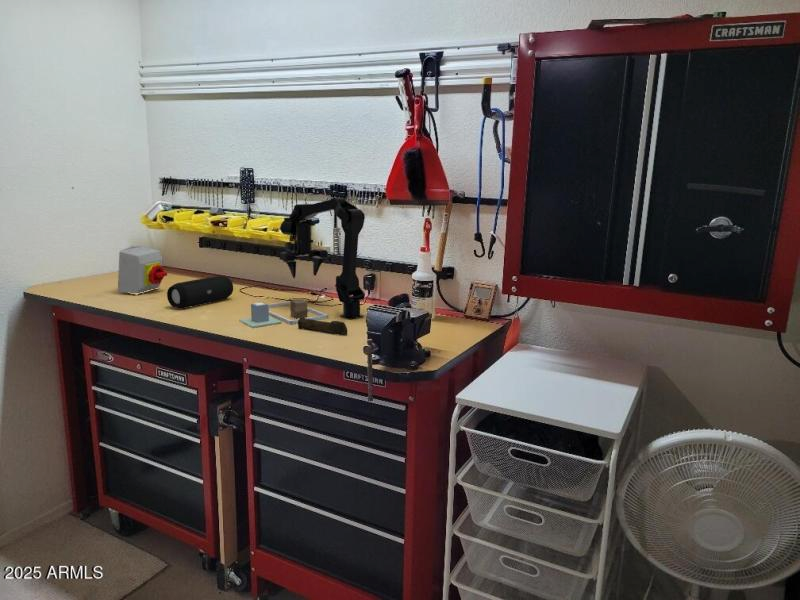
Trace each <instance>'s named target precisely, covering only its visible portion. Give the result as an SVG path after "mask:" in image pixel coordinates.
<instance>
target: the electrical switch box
mask: <svg viewBox="0 0 800 600" xmlns="http://www.w3.org/2000/svg"><path fill="white" fill-rule="evenodd" d="M118 254H119V255H118V276H117V277H118V278H117V291H118V292H120V293H124V292H130V293H140V292H144V291H147V290H151V289H155V288H158V287H159V288H160V286H161V284H162V281H163V280H164V277H167V276H168V272H167V271H165V269H164V268H163V257H162V252H161V250H157V249H154V248H149V247H145V246H140V245H130V246H128V247H125V248H123V249H121V250H120V251H118ZM159 288H158V289H159Z"/></svg>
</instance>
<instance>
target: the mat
mask: <svg viewBox="0 0 800 600" xmlns="http://www.w3.org/2000/svg"><path fill="white" fill-rule="evenodd" d="M238 321H241V322H243V323H245V324H247V325H249V326H251V327H256V328H259V327H258V326H262V327H266V326H265V325H269V326H273V325H272V324H275V325H279V324H278V323H281V324H282V322H283V321H281V320H279V319H277V318H274V317H272V316H270V315H269V321H266V322H260V323H256V322H254V321H252V320H251V317H246V318H241V319H238ZM241 322H240V323H241ZM243 323H242V324H243ZM245 324H244V325H245ZM247 325H246V326H247ZM249 326H248V327H249ZM251 327H250V328H251Z"/></svg>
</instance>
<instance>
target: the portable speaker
mask: <svg viewBox="0 0 800 600" xmlns="http://www.w3.org/2000/svg"><path fill="white" fill-rule="evenodd" d="M233 293H234V284H233V281H232V280H231V279H230V277H227V276H224V275H214V276H209V277H204V278H199V279H192V280H187V281H181V282H177V283H174V284H172V285H171V286H170V287H168V289H167V291H166V297H167V300H168V301H167V302H168V303H169V305H170V306H171V307H173V308H175V309H180V308H183V309H186V308H185V307H188V308H191V307H190V306H193V307H196V306H195V305H197V306H201V305H200V304H202V305H205V304H204V303H206V304H210V303H209V302H211V303H215V302H219V301H218V300H220V301H223V299H224V300H226V299H227V298H229V297H230V296H231V295H232V294H233ZM214 301H215V302H214Z"/></svg>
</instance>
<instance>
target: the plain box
mask: <svg viewBox="0 0 800 600" xmlns="http://www.w3.org/2000/svg"><path fill="white" fill-rule="evenodd" d="M289 301H290V305H289V306H290V318H293V317H294V318H293V319H295V318H296V319H295V320H297V319H298V318H303V317H304V318H305V317H307V318H308V311H307V307H308V301H306V300H305V299H302V298H300V299H294V300H289Z"/></svg>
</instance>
